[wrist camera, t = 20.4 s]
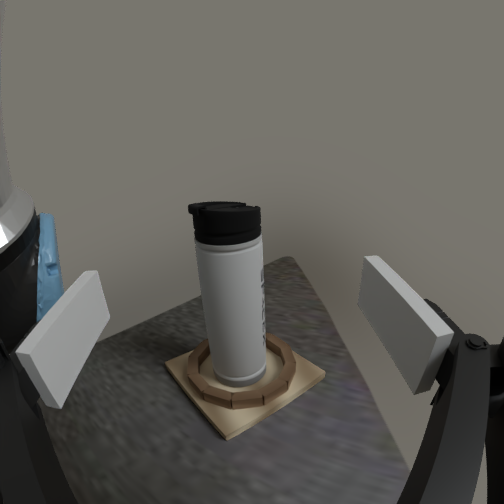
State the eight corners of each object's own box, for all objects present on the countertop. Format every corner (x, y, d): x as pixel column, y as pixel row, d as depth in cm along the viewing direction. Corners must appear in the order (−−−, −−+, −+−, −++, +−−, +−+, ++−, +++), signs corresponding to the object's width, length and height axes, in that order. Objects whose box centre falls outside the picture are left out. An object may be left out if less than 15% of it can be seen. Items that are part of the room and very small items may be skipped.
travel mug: (201, 367, 34) (176, 201, 27) (245, 347, 38) (235, 190, 31) (230, 397, 29) (208, 211, 22) (277, 371, 33) (275, 198, 26)
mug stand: (226, 440, 25) (223, 427, 24) (166, 367, 35) (162, 353, 35) (324, 377, 33) (326, 362, 32) (252, 329, 43) (251, 315, 42)
